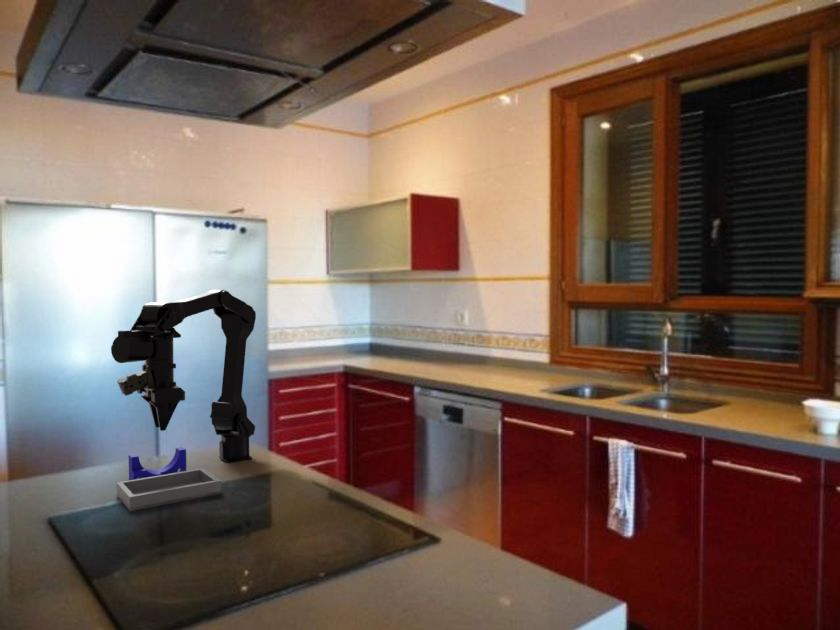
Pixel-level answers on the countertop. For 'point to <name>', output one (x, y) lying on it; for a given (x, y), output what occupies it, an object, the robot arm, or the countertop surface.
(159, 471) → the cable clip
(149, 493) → the parts tray
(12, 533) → the countertop surface
